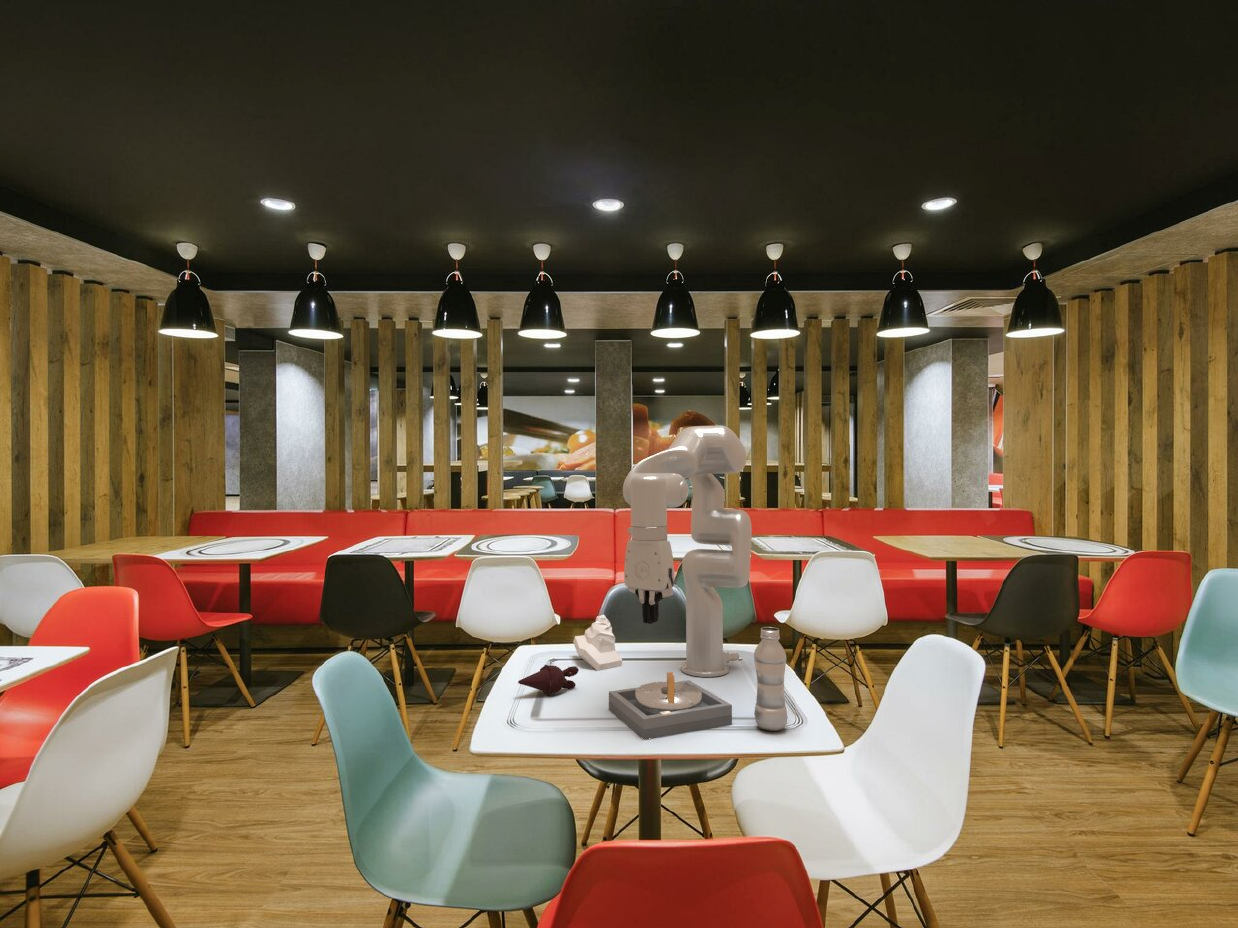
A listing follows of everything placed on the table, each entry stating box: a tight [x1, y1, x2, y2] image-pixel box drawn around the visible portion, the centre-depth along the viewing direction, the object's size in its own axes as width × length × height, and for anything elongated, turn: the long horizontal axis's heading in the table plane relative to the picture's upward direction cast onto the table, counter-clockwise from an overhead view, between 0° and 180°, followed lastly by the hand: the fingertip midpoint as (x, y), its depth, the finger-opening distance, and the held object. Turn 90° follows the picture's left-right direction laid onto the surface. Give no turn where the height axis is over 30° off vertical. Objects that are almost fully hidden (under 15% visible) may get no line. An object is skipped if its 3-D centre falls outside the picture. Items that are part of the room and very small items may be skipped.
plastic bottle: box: [753, 626, 789, 732], centre depth 135 cm, size 6×7×20 cm
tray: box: [608, 679, 733, 740], centre depth 141 cm, size 20×18×4 cm
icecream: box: [517, 664, 579, 697], centre depth 157 cm, size 7×7×15 cm
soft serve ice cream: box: [573, 614, 623, 671], centre depth 182 cm, size 12×15×14 cm
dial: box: [635, 671, 702, 715], centre depth 141 cm, size 14×14×8 cm
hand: (650, 621), depth 139 cm, fingers closed
